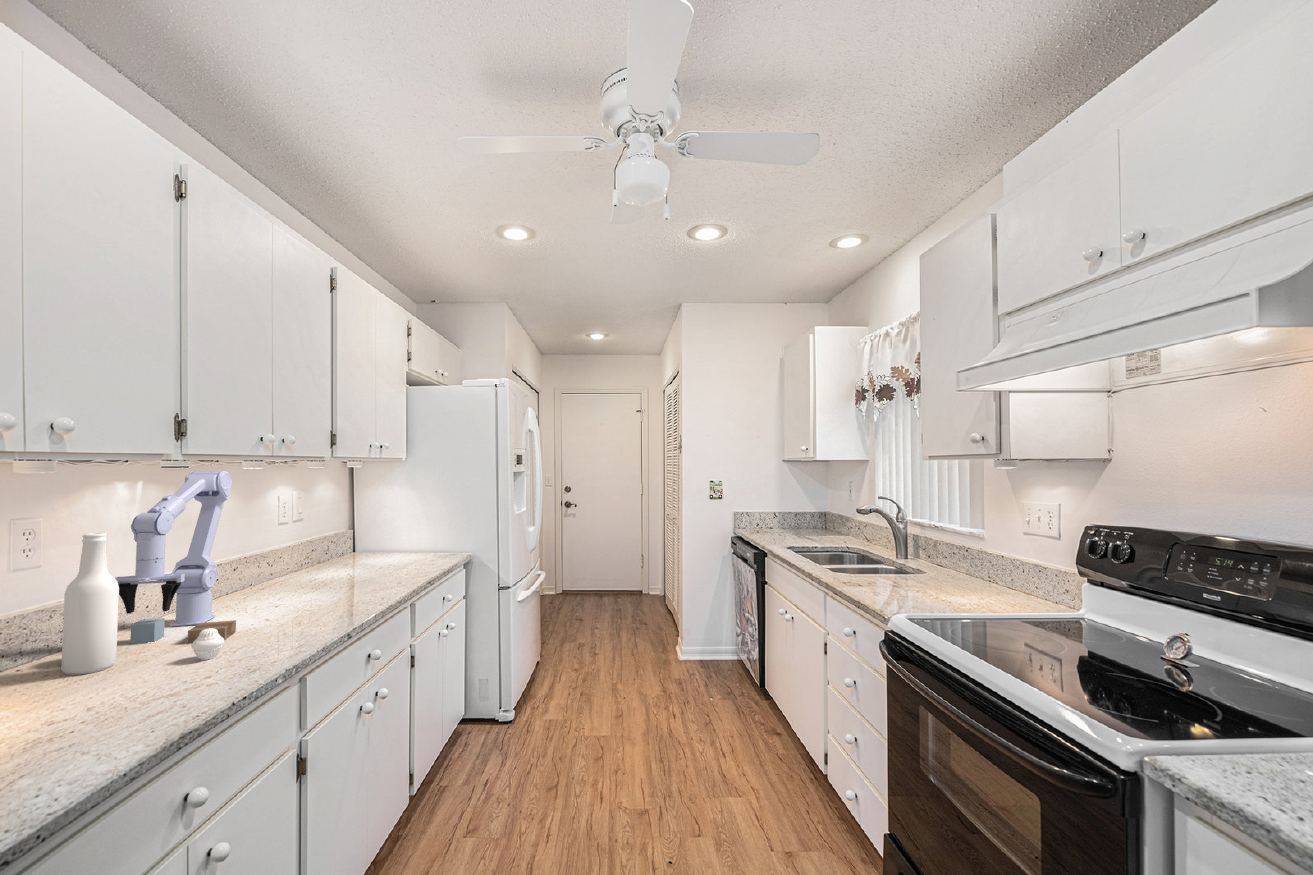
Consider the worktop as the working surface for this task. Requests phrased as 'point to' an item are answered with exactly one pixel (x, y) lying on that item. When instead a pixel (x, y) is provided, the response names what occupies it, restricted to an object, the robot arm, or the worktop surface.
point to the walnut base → (222, 626)
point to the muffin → (208, 644)
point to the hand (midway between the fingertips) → (148, 611)
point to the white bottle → (90, 612)
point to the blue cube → (147, 630)
